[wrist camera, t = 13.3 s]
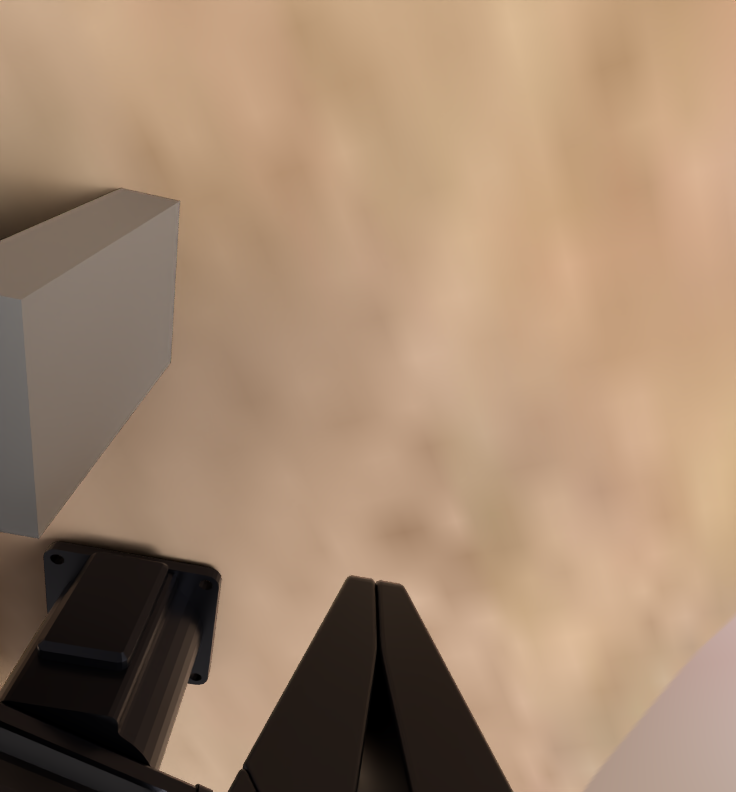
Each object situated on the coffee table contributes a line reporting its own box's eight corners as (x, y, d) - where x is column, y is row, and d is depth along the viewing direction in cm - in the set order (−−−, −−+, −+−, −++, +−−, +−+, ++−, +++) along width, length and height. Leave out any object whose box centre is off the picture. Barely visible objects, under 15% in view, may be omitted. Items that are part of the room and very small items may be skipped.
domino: (170, 362, 19) (39, 538, 12) (119, 351, 18) (-46, 523, 11) (179, 200, 16) (20, 299, 9) (120, 188, 16) (-86, 277, 9)
